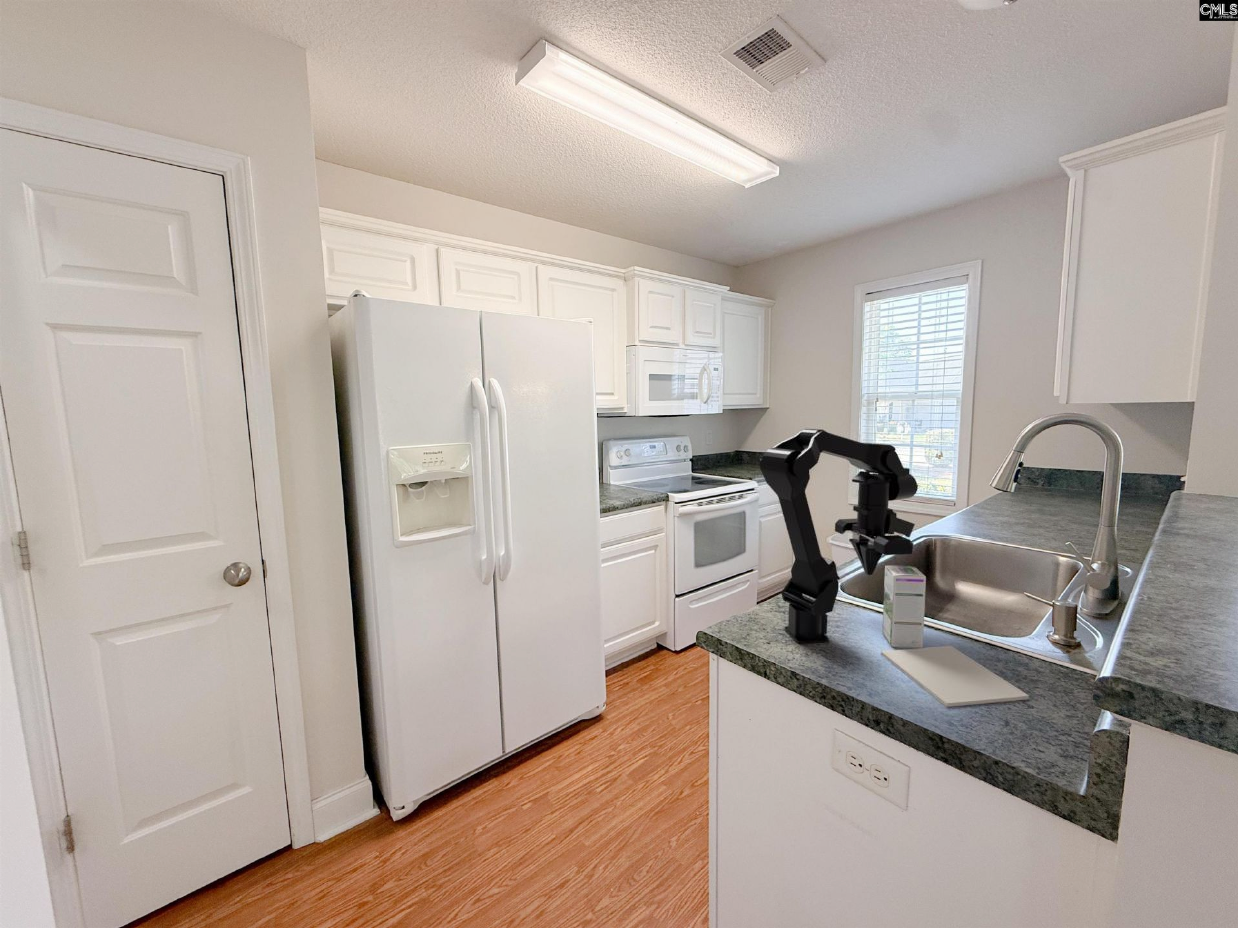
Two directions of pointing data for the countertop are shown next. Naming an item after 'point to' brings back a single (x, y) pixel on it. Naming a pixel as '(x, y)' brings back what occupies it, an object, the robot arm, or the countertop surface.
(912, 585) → the syrup box
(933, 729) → the countertop surface
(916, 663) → the rubber mat
